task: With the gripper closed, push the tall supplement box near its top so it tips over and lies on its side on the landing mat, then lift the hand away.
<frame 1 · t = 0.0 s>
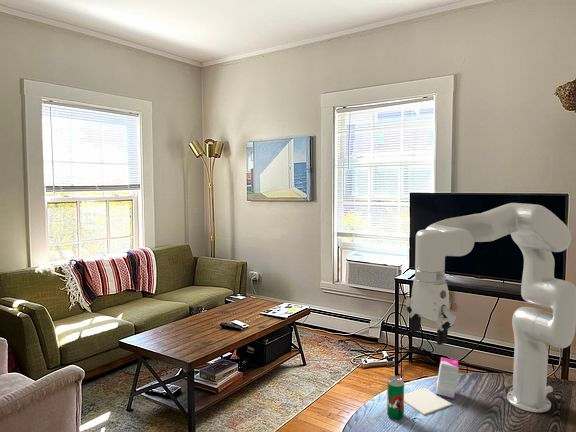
hand: (428, 337, 120), 31 cm above the table, tool pointing down, fingers open, 9 cm apart
soda can: (395, 416, 138), on the table
landing mat: (424, 401, 146), on the table
supplement box: (444, 394, 151), on the table, touching landing mat
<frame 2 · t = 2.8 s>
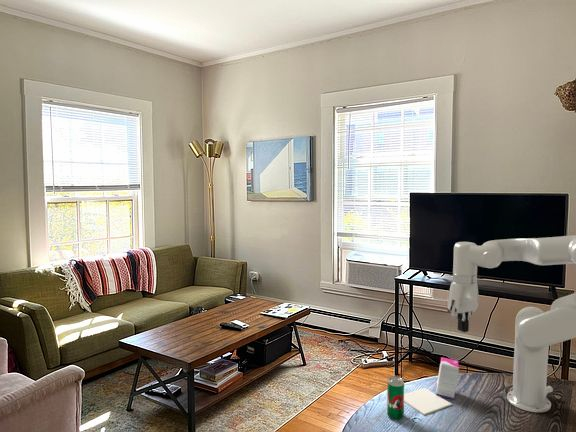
hand: (463, 330, 152), 21 cm above the table, tool pointing down, fingers closed
nothing on the table moved.
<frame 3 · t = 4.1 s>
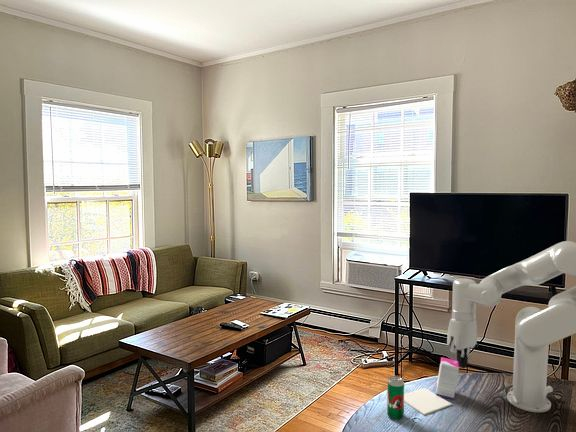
hand: (461, 366, 153), 8 cm above the table, tool pointing down, fingers closed
nothing on the table moved.
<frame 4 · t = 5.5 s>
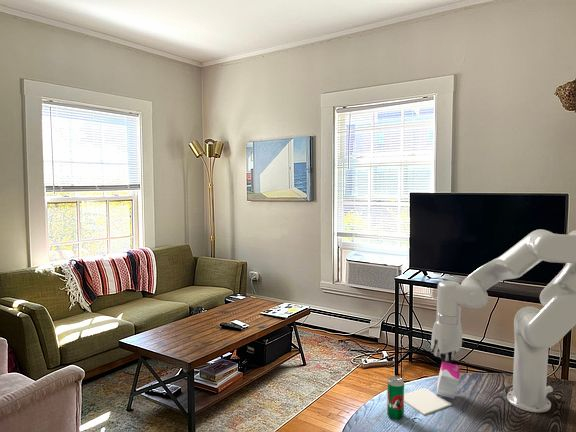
hand: (446, 370, 150), 8 cm above the table, tool pointing down, fingers closed
supplement box: (445, 390, 150), point 2 cm above the table, touching landing mat
everything else where it was.
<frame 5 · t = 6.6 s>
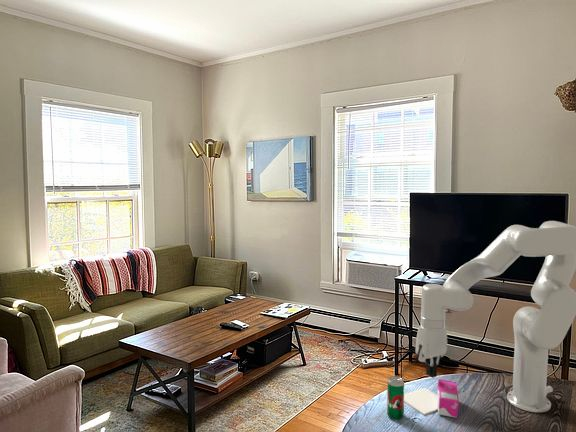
hand: (431, 375, 147), 8 cm above the table, tool pointing down, fingers closed
supplement box: (446, 387, 148), point 4 cm above the table, touching landing mat
everything else where it was.
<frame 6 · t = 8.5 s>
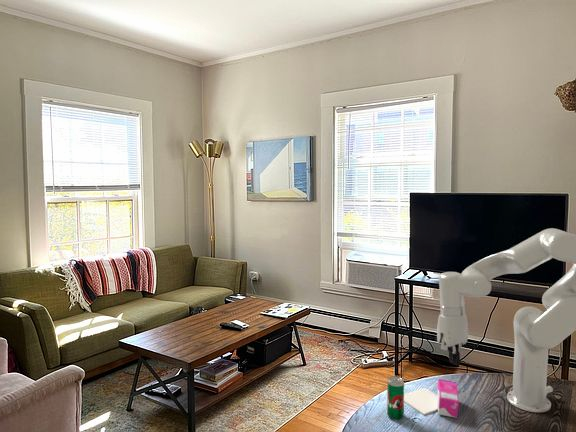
hand: (454, 363, 148), 12 cm above the table, tool pointing down, fingers closed
nothing on the table moved.
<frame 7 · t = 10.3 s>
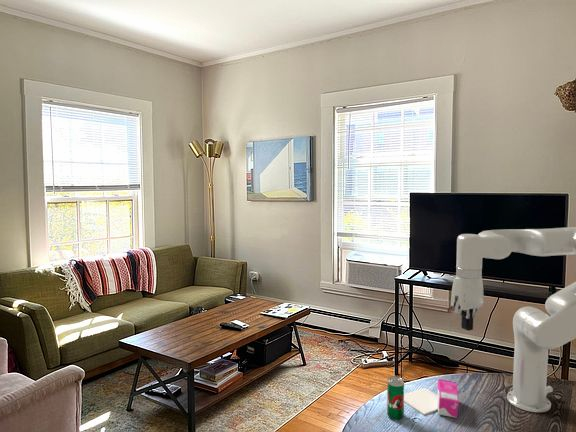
hand: (467, 328, 142), 25 cm above the table, tool pointing down, fingers closed
nothing on the table moved.
at the end: supplement box tilted 94°; supplement box touching landing mat, table; supplement box inside the target area on the landing mat (6.2 cm from its centre), point 3.8 cm above the landing mat's base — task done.
